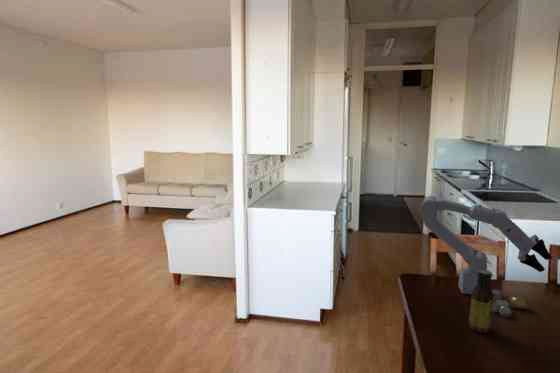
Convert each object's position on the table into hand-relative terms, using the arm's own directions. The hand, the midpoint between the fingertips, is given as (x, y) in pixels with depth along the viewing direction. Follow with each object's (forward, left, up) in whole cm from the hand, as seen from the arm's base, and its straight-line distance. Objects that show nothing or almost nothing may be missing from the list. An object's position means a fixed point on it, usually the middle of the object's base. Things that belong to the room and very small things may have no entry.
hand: (545, 264), depth 141 cm
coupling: (-9, -6, -16) cm, 19 cm away
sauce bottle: (-27, -25, -16) cm, 40 cm away
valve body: (-17, -7, -16) cm, 24 cm away
